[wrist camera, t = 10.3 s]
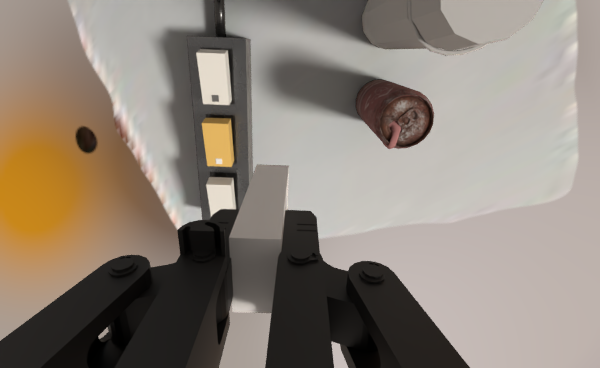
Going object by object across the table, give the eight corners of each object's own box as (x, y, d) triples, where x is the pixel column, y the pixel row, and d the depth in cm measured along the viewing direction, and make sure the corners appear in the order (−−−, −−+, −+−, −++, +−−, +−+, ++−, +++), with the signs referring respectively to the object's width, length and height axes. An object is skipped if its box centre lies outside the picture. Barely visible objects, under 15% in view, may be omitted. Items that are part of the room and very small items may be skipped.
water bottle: (346, 28, 43) (402, 2, 19) (387, -30, 40) (505, -140, 17) (399, 72, 45) (508, 95, 21) (441, 19, 42) (613, -19, 19)
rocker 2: (209, 177, 44) (206, 184, 43) (233, 177, 44) (230, 185, 43) (214, 211, 48) (211, 220, 46) (236, 212, 48) (234, 220, 46)
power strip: (191, -16, 41) (180, -23, 37) (249, -14, 41) (244, -20, 37) (208, 209, 52) (201, 221, 49) (253, 210, 52) (249, 223, 49)
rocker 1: (200, 49, 38) (195, 52, 37) (227, 50, 38) (224, 53, 37) (206, 99, 42) (202, 104, 40) (231, 99, 42) (229, 105, 40)
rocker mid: (205, 117, 42) (201, 123, 40) (230, 118, 42) (227, 124, 40) (210, 159, 45) (207, 166, 43) (234, 160, 45) (231, 167, 43)
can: (348, 119, 47) (367, 145, 34) (363, 73, 45) (389, 83, 32) (388, 130, 48) (421, 160, 35) (405, 86, 45) (447, 100, 32)
